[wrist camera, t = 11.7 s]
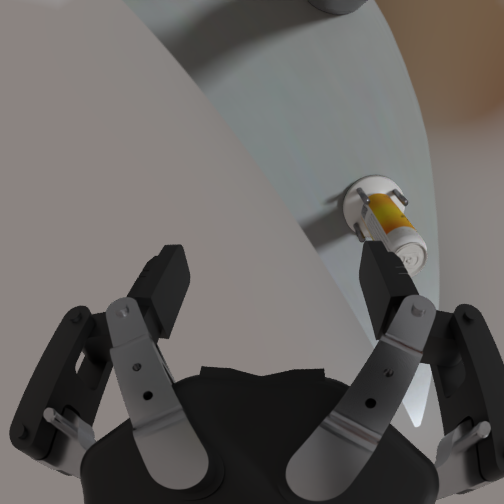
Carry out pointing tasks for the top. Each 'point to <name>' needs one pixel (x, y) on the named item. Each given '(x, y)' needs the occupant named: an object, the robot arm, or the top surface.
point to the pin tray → (368, 200)
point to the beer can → (394, 231)
